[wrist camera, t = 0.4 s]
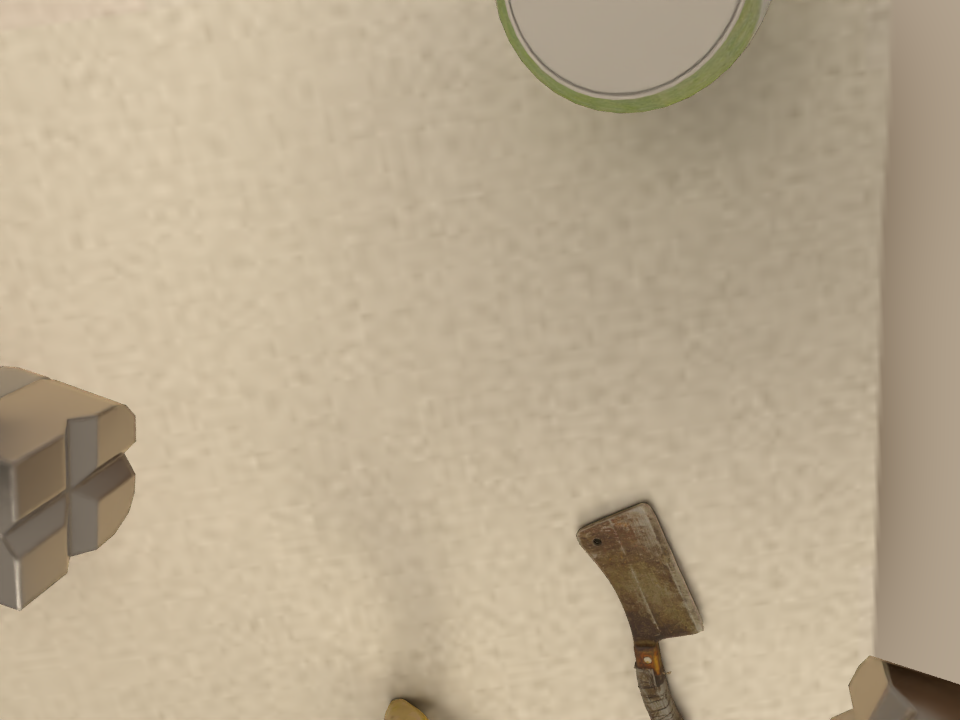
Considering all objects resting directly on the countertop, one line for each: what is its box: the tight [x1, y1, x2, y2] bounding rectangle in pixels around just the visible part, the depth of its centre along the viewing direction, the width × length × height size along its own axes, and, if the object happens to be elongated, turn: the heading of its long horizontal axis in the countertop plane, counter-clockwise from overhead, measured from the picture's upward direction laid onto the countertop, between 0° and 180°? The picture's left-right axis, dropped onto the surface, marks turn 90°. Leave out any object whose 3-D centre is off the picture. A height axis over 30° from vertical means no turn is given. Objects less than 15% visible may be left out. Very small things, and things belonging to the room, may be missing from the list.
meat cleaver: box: [576, 503, 704, 720], centre depth 33 cm, size 12×1×5 cm
